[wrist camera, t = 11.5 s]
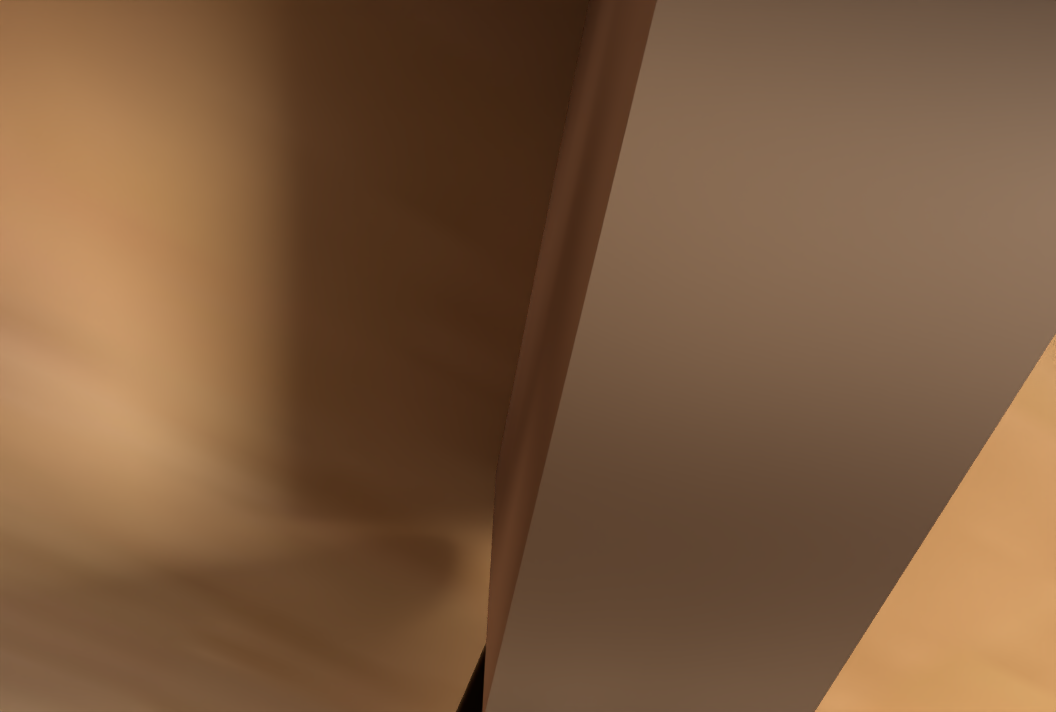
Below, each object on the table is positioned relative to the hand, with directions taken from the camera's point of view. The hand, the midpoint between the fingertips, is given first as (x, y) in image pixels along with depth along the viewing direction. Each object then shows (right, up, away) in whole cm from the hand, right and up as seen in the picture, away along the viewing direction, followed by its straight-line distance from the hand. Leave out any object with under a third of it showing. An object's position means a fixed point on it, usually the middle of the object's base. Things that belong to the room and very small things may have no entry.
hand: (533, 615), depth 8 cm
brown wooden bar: (+3, +9, -4) cm, 10 cm away
